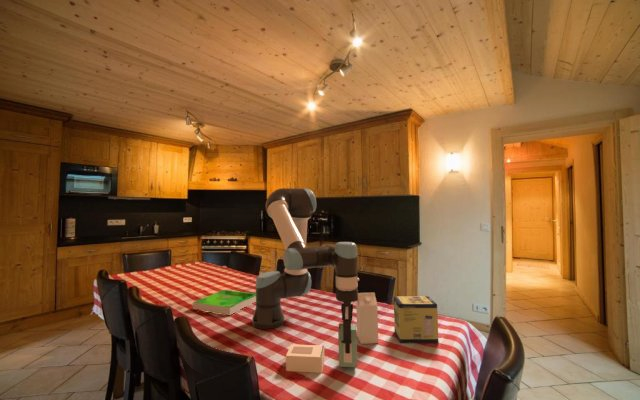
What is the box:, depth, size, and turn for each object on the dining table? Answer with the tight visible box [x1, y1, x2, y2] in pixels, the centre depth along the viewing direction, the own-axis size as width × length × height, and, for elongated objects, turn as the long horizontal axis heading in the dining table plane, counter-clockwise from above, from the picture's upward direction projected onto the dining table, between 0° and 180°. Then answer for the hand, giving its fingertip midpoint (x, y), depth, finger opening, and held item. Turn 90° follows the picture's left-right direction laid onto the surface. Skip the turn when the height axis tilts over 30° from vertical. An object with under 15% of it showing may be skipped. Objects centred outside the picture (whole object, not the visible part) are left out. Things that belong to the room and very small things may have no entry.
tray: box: [192, 289, 256, 315], centre depth 160 cm, size 25×25×5 cm
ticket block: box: [285, 343, 325, 374], centre depth 97 cm, size 12×8×5 cm, turn 83°
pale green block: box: [337, 322, 358, 368], centre depth 95 cm, size 6×5×12 cm
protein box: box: [393, 295, 439, 344], centre depth 117 cm, size 10×16×16 cm
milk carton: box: [355, 292, 379, 345], centre depth 115 cm, size 7×7×19 cm
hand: (348, 357), depth 95 cm, fingers closed on pale green block, 5 cm apart
